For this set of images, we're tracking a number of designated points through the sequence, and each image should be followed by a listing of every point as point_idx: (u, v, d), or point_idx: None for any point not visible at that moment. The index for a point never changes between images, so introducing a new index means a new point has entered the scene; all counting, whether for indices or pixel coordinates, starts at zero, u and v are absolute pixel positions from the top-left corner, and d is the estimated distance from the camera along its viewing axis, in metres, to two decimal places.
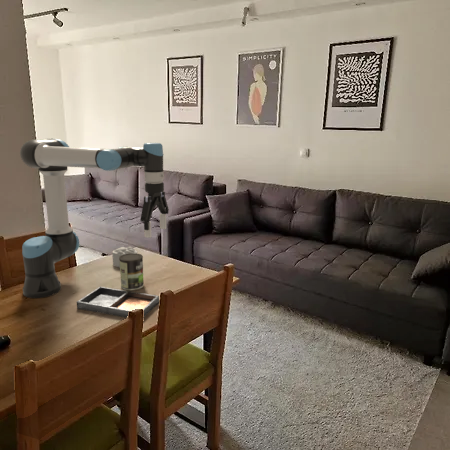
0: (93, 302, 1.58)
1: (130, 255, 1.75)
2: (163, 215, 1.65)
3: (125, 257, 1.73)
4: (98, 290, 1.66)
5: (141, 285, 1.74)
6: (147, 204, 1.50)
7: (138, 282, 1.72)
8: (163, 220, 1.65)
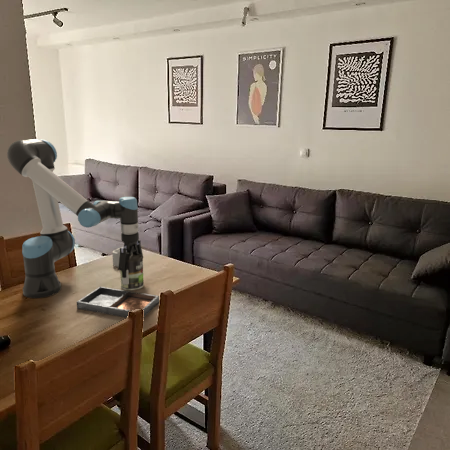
0: (93, 302, 1.58)
1: None
2: None
3: None
4: (98, 290, 1.66)
5: (141, 285, 1.74)
6: (123, 255, 1.65)
7: (138, 282, 1.72)
8: None
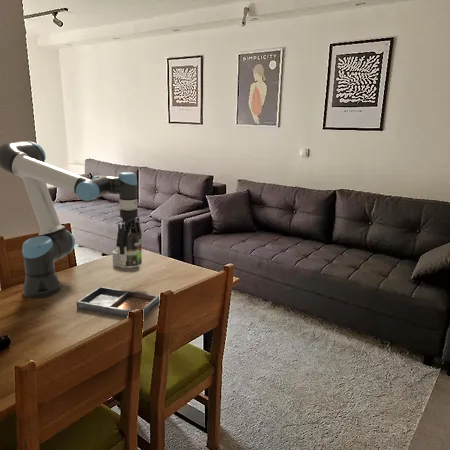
0: (93, 302, 1.58)
1: None
2: None
3: None
4: (98, 290, 1.66)
5: (139, 263, 1.71)
6: (121, 231, 1.62)
7: (136, 260, 1.69)
8: None
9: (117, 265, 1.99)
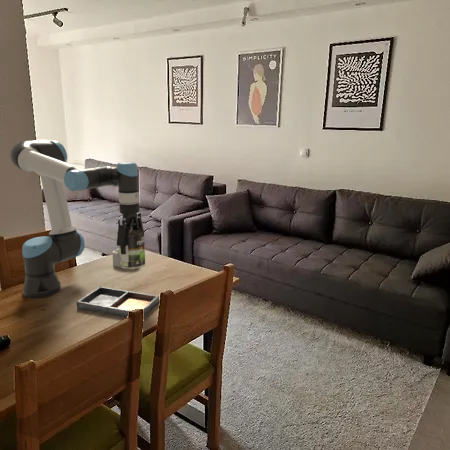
0: (93, 302, 1.58)
1: None
2: None
3: None
4: (98, 290, 1.66)
5: (143, 263, 1.54)
6: (122, 228, 1.45)
7: (139, 260, 1.52)
8: None
9: (117, 265, 1.99)
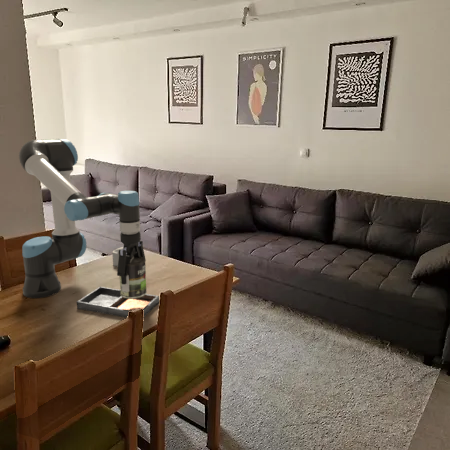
0: (93, 302, 1.58)
1: None
2: None
3: None
4: (98, 290, 1.66)
5: (144, 292, 1.51)
6: (123, 258, 1.43)
7: (140, 290, 1.49)
8: None
9: (117, 265, 1.99)
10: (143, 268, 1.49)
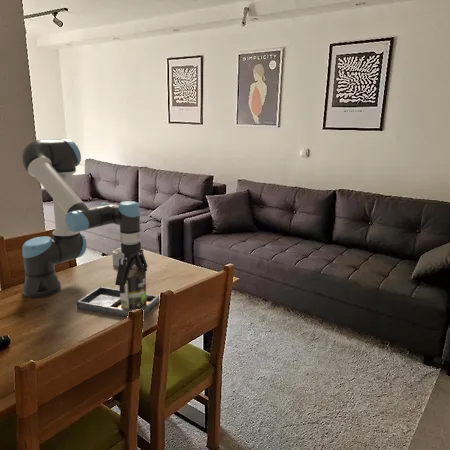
0: (93, 302, 1.58)
1: (131, 270, 1.54)
2: None
3: None
4: (98, 290, 1.66)
5: (144, 305, 1.53)
6: (122, 267, 1.43)
7: (140, 302, 1.51)
8: None
9: (117, 265, 1.99)
10: (143, 281, 1.51)
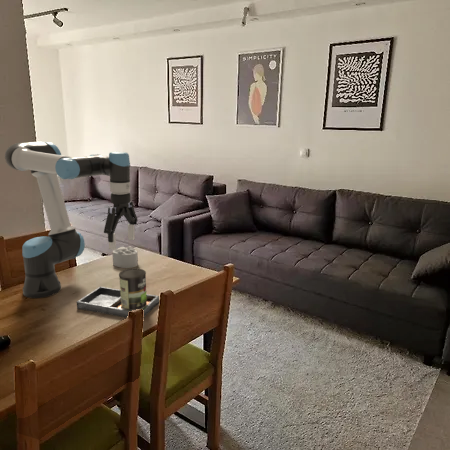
0: (93, 302, 1.58)
1: (131, 270, 1.54)
2: (131, 226, 1.60)
3: (125, 273, 1.52)
4: (98, 290, 1.66)
5: (144, 305, 1.53)
6: (111, 216, 1.45)
7: (140, 302, 1.51)
8: (131, 231, 1.60)
9: (117, 265, 1.99)
10: (143, 281, 1.51)
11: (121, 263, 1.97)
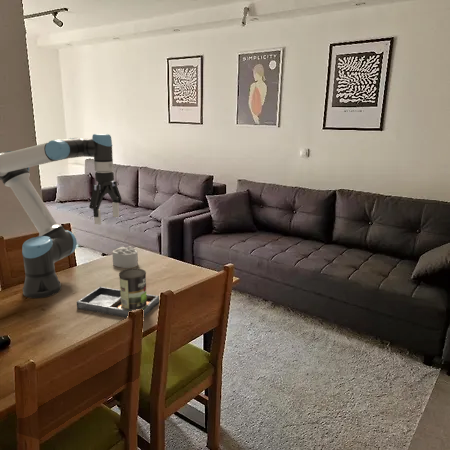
0: (93, 302, 1.58)
1: (131, 270, 1.54)
2: (115, 204, 1.72)
3: (125, 273, 1.52)
4: (98, 290, 1.66)
5: (144, 305, 1.53)
6: (96, 192, 1.58)
7: (140, 302, 1.51)
8: (116, 208, 1.73)
9: (117, 265, 1.99)
10: (143, 281, 1.51)
11: (121, 263, 1.97)
